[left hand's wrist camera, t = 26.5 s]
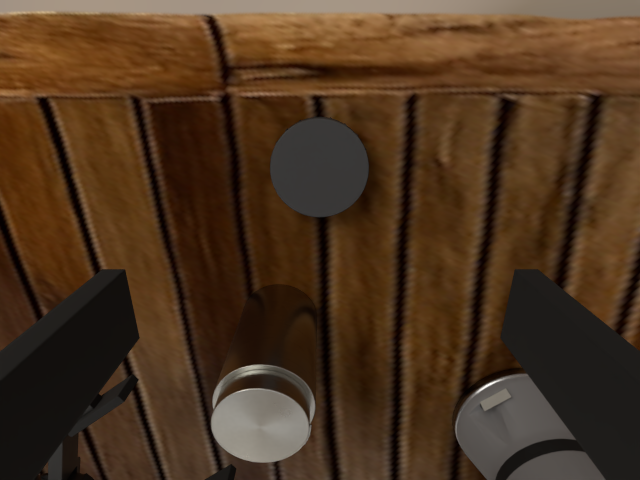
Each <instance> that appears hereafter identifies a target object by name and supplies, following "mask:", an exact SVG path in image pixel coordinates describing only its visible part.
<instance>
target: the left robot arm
mask: <svg viewBox="0 0 640 480" xmlns="http://www.w3.org/2000/svg"><path fill="white" fill-rule="evenodd" d="M138 339H139V333H138V329H137V324H136V319H135V314H134V310H133V305H132V300H131V295H130V291H129V286H128V281H127V276H126V272H125V269H102V270H101V271H100V272H99V273H97V274H96V275H95V276H94V277H92V278H91V279H90V280H89V281H87V282H86V283H85V284H84V285H82V286H81V287H80V288H79V289H77V290H76V291H75V292H74V293H72V294H71V295H70V296H69V297H67V298H66V299H65V300H64V301H62V302H61V303H60V304H59V305H57V306H56V307H55V308H54V309H52V310H51V311H50V312H49V313H48V314H46V315H45V316H44V317H43V318H41V319H40V320H39V321H38V322H36V323H35V324H34V325H33V326H31V327H30V328H29V329H28V330H26V331H25V332H24V333H23V334H21V335H20V336H19V337H18V338H16V339H15V340H14V341H13V342H11V343H10V344H9V345H8V346H6V347H5V348H4V349H3V350H1V351H0V480H34V479H35V478H36V477H37V475H38V474H39V473H40V471H41V470H42V469H43V467H44V466H45V465H46V463H47V462H48V461H49V459H50V458H51V457H52V455H53V454H54V453H55V451H56V450H57V448H58V447H59V446H60V444H61V443H62V442H63V440H64V439H65V438H66V436H67V435H68V434H69V432H70V431H71V430H72V428H73V427H74V426H75V424H76V423H77V422H78V420H79V419H80V417H81V416H82V415H83V413H84V412H85V411H86V409H87V408H88V407H89V405H90V404H91V403H92V401H93V400H94V399H95V397H96V396H97V395H98V393H99V392H100V391H101V389H102V388H103V386H104V385H105V384H106V382H107V381H108V380H109V378H110V377H111V376H112V374H113V373H114V372H115V370H116V369H117V368H118V366H119V365H120V364H121V362H122V361H123V360H124V358H125V357H126V355H127V354H128V353H129V351H130V350H131V349H132V347H133V346H134V345H135V343H136V342H137V341H138ZM501 339H502V341H503V342H504V343H505V345H506V346H507V347H508V349H509V350H510V351H511V353H512V354H513V355H514V357H515V358H516V360H517V361H518V362H519V364H520V365H521V366H522V368H516V369H509V370H504V371H500V372H497V373H494V374H492V375H489V376H487V377H485V378H483V379H482V380H480V381H478V382H477V383H475V384H474V385H473V386H471V387H470V388H469V389H468V390H467V391H466V392H465V393H464V394H463V396H462V397H461V398H460V400H459V401H458V403H457V405H456V407H455V410H454V413H453V419H452V420H453V429H454V432H455V435H456V437H457V440H458V442H459V445H460V446H461V448H462V449H463V451H464V453H465V454H466V455H467V456H468V458H469V459H470V460H471V461H472V462H473V464H474V465H475V466H476V467H477V468H478V470H479V471H480V472H481V473H482V474H483V475H484V477H485V478H486V479H487V480H640V351H639V350H637V349H636V348H635V347H634V346H632V345H631V344H630V343H629V342H627V341H626V340H625V339H624V338H622V337H621V336H620V335H619V334H617V333H616V332H615V331H614V330H612V329H611V328H610V327H609V326H607V325H606V324H605V323H604V322H602V321H601V320H600V319H599V318H597V317H596V316H595V315H594V314H592V313H591V312H590V311H589V310H588V309H586V308H585V307H584V306H583V305H581V304H580V303H579V302H578V301H576V300H575V299H574V298H573V297H571V296H570V295H569V294H568V293H566V292H565V291H564V290H563V289H561V288H560V287H559V286H558V285H556V284H555V283H554V282H553V281H551V280H550V279H549V278H548V277H546V276H545V275H544V274H543V273H541V272H540V271H539V270H538V269H515V272H514V276H513V281H512V286H511V291H510V295H509V300H508V305H507V310H506V314H505V319H504V324H503V329H502V333H501Z"/></svg>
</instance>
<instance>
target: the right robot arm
mask: <svg viewBox="0 0 640 480" xmlns="http://www.w3.org/2000/svg"><path fill="white" fill-rule="evenodd" d="M137 382H138V379H137V378H136V377H135V376H134V375H133V374H132V375H131V376H129V377H128V378H126V379H125V380H124V381H122V382H121V383H119V384H118V385H116V386H115V387H113V388H112V389H111V390H109V391H108V392H106V393H105V394H103V395H102V396H101V395H100V394H98V395H97V396H96V397H95V399H94V400H93V401H92V403H91V404H90V405H89V407H88V408H87V409H86V411H85V412H84V413H83V415H82V416H81V417H80V419H79V420H78V422H77V423H76V424H75V426H74V427H73V428H72V430H71V431H70V432H69V434H68V435H67V436H66V438H65V439H64V440H63V442H62V443H61V444H60V446H59V447H58V448H57V450H56V451H55V453H54V454H53V455H52V457H51V458H50V459H49V461H48V473H45V474H42V475H39V474H38V475H37V477H36V478H35V479H34V480H94V479H93V478H92V477H91V476H90V475H88V474H87V473H86V474H81V473H80V457H77V456H78V433H79V432H80V431H82V430H83V429H84V428H86V427H87V426H89V425H90V424H92V423H93V422H95V421H96V420H98V419H99V418H101V417H102V416H104V415H105V414H107V413H108V412H110V411H111V410H113V409H114V408H116V407H117V406H119V405H120V404H122V403H123V402H124V401H125V400H126V398H127V397H128V395H129V394H130V392H131V391H132V389H133V388H134V386H135V385H136V383H137ZM235 472H236V468H235V467H234V466H233V465H232V464H231V465H229V466H227V467H226V468H224V469H222V470H221V471H219V472H217V473H215V474H214V475H212V476H210V477H209V478H207V479H205V480H234V477H235Z"/></svg>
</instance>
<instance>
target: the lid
mask: <svg viewBox="0 0 640 480" xmlns="http://www.w3.org/2000/svg"><path fill="white" fill-rule="evenodd" d="M368 173H369V163H368V157H367V153H366V149H365V147H364V145H363V144H362V142H361V140H360V139H359V138H358V135H357V134H355V133H354V132H353V131H352V130H351V129H350V128H349V127H348V126H346V124H345V123H344V124H343V123H341V122H339V121H337V120H334V119H332V118H331V117H330V118H327V117H316V116H315V117H313V118H308V119H305V120H302V121H301V120H300V121H299V122H298V123H296V124H294V125H293V126H291V127H290V128H289V129H287V130H286V132H285V133H284V134H283V135H282V136H281V138H280V139H279V140H278V141H277V142H276V146H275V148H274V150H273V153H272V156H271V162H270V174H271V179H272V183H273V185H274V188H275V190H276V192H277V194H278V195H279V197H280V198H281V199H282V200H283V201H284V203H285V204H287V205H288V206H289V207H290V208H292V209H293V210H295V211H297V212H299V213H301V214H304V215H307V216H312V217H327V216H332V215H335V214H338V213H340V212H342V211H344V210H346V209H347V208H349V207H350V206H351V205H352V204H353V203H354V202H355V201H356V200H357V199H358V198H359V197H360V195H361V194H362V192H363V190H364V188H365V185H366V183H367V179H368Z"/></svg>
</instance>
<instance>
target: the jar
mask: <svg viewBox="0 0 640 480" xmlns="http://www.w3.org/2000/svg"><path fill="white" fill-rule="evenodd" d="M316 336H317V314H316V309H315V307H314V304H313V303H312V301H311V300H310V298H309V297H308V296H307V295H306V294H305V293H303V292H302V291H300V290H298V289H296V288H294V287H291V286H287V285H270V286H266V287H263V288H261V289H259V290H257V291H256V292H255V293H253V294H252V295H251V296H250V297H249V299H248V300H247V302H246V304H245V307H244V309H243V312H242V315H241V318H240V321H239V323H238V326H237V329H236V332H235V335H234V337H233V340H232V343H231V346H230V349H229V351H228V354H227V357H226V360H225V363H224V365H223V368H222V371H221V374H220V377H219V380H218V382H217V385H216V388H215V391H214V394H213V400H212V403H213V413H212V417H211V429H212V433H213V435H214V437H215V439H216V441H217V442H218V443H219V445H220V446H221V447H222V448H223V449H225V450H226V451H227V452H229V453H230V454H232V455H234V456H236V457H238V458H241V459H244V460H247V461H252V462H274V461H278V460H282V459H285V458H287V457H289V456H291V455H293V454H294V453H296V452H297V451H298V450H299V449H300V448H301V447H302V446H303V445H305V444H306V442H307V440H308V438H309V436H310V432H311V424H310V423H311V421H312V419H313V417H314V413H315V404H316Z"/></svg>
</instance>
